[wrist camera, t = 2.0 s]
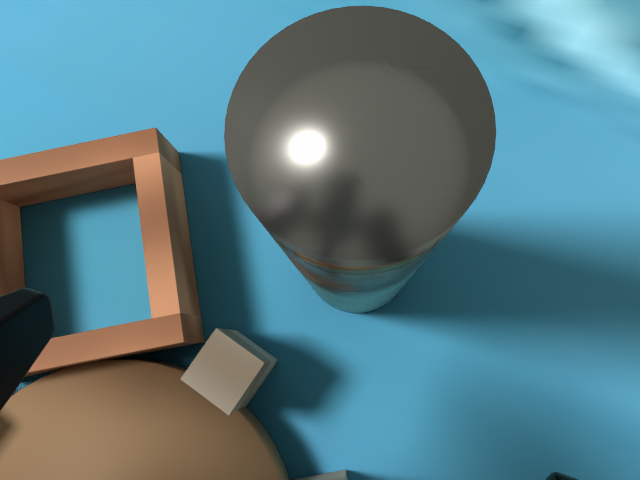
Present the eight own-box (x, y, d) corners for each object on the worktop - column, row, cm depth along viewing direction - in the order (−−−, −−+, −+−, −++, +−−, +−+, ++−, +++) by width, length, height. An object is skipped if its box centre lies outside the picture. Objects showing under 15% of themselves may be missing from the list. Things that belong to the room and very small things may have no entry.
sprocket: (402, 774, 17) (411, 865, 14) (-94, 857, 17) (-185, 960, 15) (282, 130, 22) (271, 96, 19) (-106, 210, 22) (-176, 189, 19)
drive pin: (352, 334, 20) (345, 319, 7) (285, 257, 21) (171, 118, 8) (429, 266, 20) (554, 134, 7) (361, 192, 21) (368, -42, 8)
